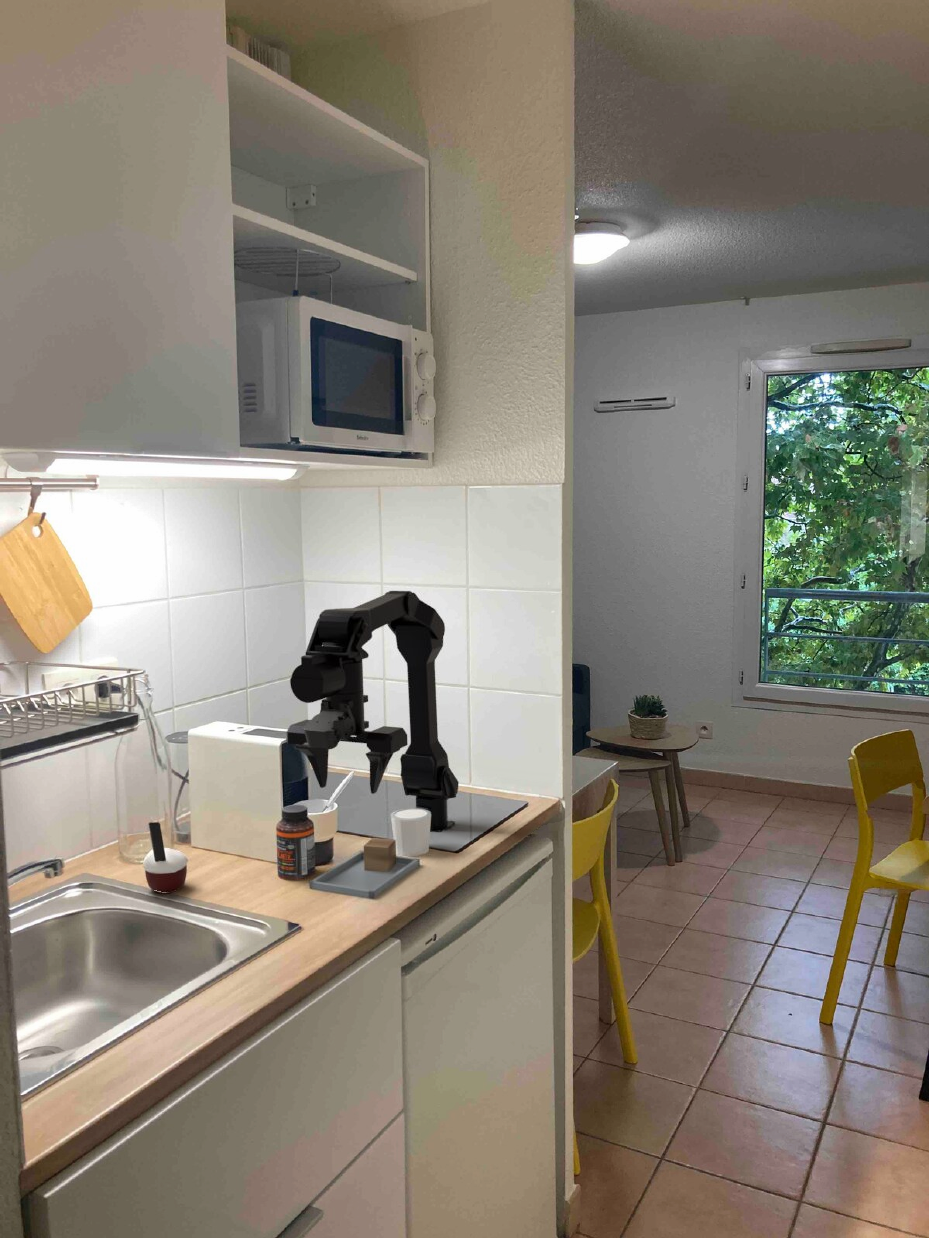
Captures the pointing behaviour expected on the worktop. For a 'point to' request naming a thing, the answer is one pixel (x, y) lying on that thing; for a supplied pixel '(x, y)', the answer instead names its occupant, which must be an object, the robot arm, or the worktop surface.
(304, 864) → the supplement bottle
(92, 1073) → the worktop surface
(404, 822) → the white cup
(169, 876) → the cocoa
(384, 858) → the walnut block
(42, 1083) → the worktop surface
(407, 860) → the tray
